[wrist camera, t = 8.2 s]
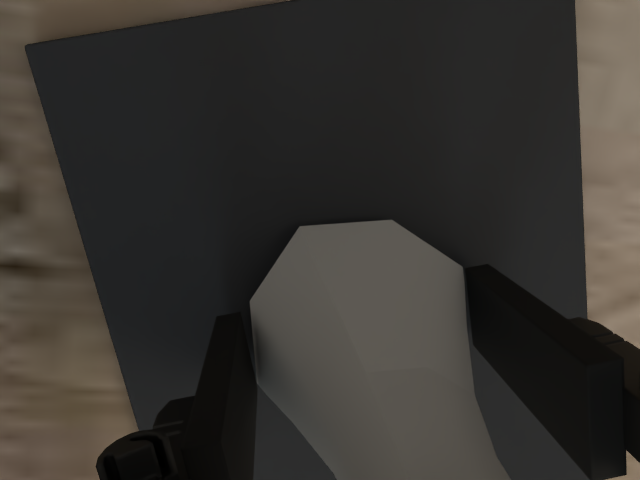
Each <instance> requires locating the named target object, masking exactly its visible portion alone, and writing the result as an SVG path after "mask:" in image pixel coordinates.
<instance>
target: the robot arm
mask: <svg viewBox="0 0 640 480" xmlns="http://www.w3.org/2000/svg"><path fill="white" fill-rule="evenodd" d="M465 273H466V283H467V292H468V302H469V312H470V321H471V331H472V341H473V346H474V347H475V348H476V349H477V350H478V352H479V353H480V354H481V355H482V356H483V357H484V358H485V360H486V361H487V362H488V363H489V364H490V365H491V367H492V368H493V369H494V370H495V371H496V372H497V373H498V375H499V376H500V377H501V378H502V379H503V380H504V382H505V383H506V384H507V385H508V386H509V387H510V388H511V390H512V391H513V392H514V393H515V394H516V395H517V396H518V398H519V399H520V400H521V401H522V402H523V403H524V405H525V406H526V407H527V408H528V409H529V410H530V411H531V413H532V414H533V415H534V416H535V417H536V418H537V420H538V421H539V422H540V423H541V424H542V425H543V426H544V428H545V429H546V430H547V431H548V432H549V433H550V434H551V436H552V437H553V438H554V439H555V440H556V441H557V443H558V444H559V445H560V446H561V447H562V448H563V449H564V451H565V452H566V453H567V454H568V455H569V456H570V458H571V459H572V460H573V461H574V462H575V463H576V464H577V466H578V467H579V468H580V469H581V470H582V471H583V473H584V474H585V475H586V476H587V477H588V478H589V479H590V480H604V479H609V478H614V477H618V476H623V475H626V450H627V451H628V452H629V453H630V454H631V455H632V456H633V457H634V458H635V459H636V460H637V461H638V462H640V349H638V348H637V347H635V346H634V345H632V344H631V343H629V342H628V341H624V339H623V338H621V337H620V336H618V335H617V334H613V332H612V331H610V330H609V329H607V328H606V327H604V326H603V325H601V324H599V323H597V322H594V321H591V320H588V319H584V318H581V317H576V318H571V319H567V318H565V317H564V316H562V315H561V314H560V313H558V312H557V311H555V310H554V309H552V308H551V307H550V306H548V305H547V304H545V303H544V302H542V301H541V300H539V299H538V298H537V297H535V296H534V295H532V294H531V293H529V292H528V291H527V290H525V289H524V288H522V287H521V286H519V285H518V284H516V283H515V282H514V281H512V280H511V279H509V278H508V277H506V276H505V275H503V274H502V273H501V272H499V271H498V270H496V269H495V268H493V267H492V266H491V265H489V264H484V265H479V266H473V267H468V268H465ZM257 393H258V387H257V383H256V379H255V374H254V370H253V365H252V361H251V356H250V352H249V347H248V343H247V338H246V334H245V330H244V325H243V321H242V316H241V312H236V313H231V314H226V315H221V316H216V320H215V324H214V327H213V331H212V335H211V338H210V342H209V346H208V349H207V353H206V357H205V361H204V364H203V368H202V372H201V375H200V379H199V383H198V386H197V390H196V394H195V396H190V397H185V398H180V399H175V400H170V401H169V402H168V403H167V404H166V405H165V406H164V407H163V408H162V409H161V410H160V412H159V413H158V414H157V417H156V419H155V422H154V424H153V429H151V430H141V431H138V432H134V433H131V434H128V435H126V436H124V437H122V438H120V439H118V440H116V441H115V442H114V443H112V444H111V445H110V446H108V447H107V448H106V449H105V450H104V451H103V452H102V454H101V455H100V456H99V457H98V460H97V464H96V469H97V472H98V475H99V478H100V480H253V475H254V454H255V434H256V414H257Z"/></svg>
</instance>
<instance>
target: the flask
mask: <svg viewBox="0 0 640 480" xmlns="http://www.w3.org/2000/svg"><path fill="white" fill-rule="evenodd" d="M250 311H251V322H252V332H253V343H254V354H255V365H256V376H257V384H258V385H259V386H260V387H261V389H262V390H263V391H264V392H265V394H266V395H267V396H268V397H269V398H270V399H271V400H272V401H273V402H274V403H275V404H276V405H277V406H278V408H279V409H280V410H281V411H282V412H283V413H284V414H285V415H286V416H287V417H288V418H289V419H290V420H291V421H292V422H293V424H294V425H295V426H296V427H297V429H298V430H299V431H300V432H301V434H302V435H303V436H304V437H305V438H306V440H307V441H308V442H309V443H310V445H311V446H312V447H313V448H314V450H315V451H316V452H317V453H318V455H319V456H320V457H321V458H322V460H323V461H324V462H325V463H326V465H327V466H328V467H329V468H330V470H331V471H332V472H333V473H334V475H335V477H336V480H511V479H510V477H509V476H508V474H507V472H506V471H505V469H504V468H503V466H502V464H501V463H500V461H499V460H498V458H497V456H496V453H495V450H494V447H493V445H492V442H491V439H490V436H489V433H488V431H487V428H486V425H485V422H484V419H483V417H482V414H481V411H480V408H479V405H478V403H477V400H476V397H475V392H474V383H473V375H472V366H471V358H470V349H469V341H468V332H467V321H466V301H465V282H464V273H463V267H462V266H461V265H459V264H458V263H456V262H455V261H453V260H452V259H450V258H449V257H447V256H446V255H444V254H443V253H441V252H440V251H438V250H437V249H435V248H434V247H432V246H431V245H429V244H427V243H426V242H424V241H423V240H421V239H420V238H418V237H417V236H415V235H414V234H412V233H411V232H409V231H408V230H406V229H405V228H403V227H402V226H400V225H399V224H397V223H396V222H394V221H393V220H381V221H367V222H353V223H338V224H324V225H310V226H299V228H298V229H297V231H296V232H295V234H294V235H293V237H292V238H291V240H290V241H289V243H288V244H287V246H286V247H285V249H284V250H283V252H282V253H281V255H280V256H279V258H278V259H277V261H276V262H275V264H274V265H273V267H272V268H271V270H270V271H269V273H268V274H267V276H266V277H265V279H264V280H263V282H262V283H261V285H260V286H259V288H258V289H257V291H256V292H255V294H254V295H253V297H252V298H251V300H250Z"/></svg>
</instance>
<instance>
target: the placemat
mask: <svg viewBox="0 0 640 480" xmlns="http://www.w3.org/2000/svg"><path fill="white" fill-rule="evenodd" d="M25 50H26V54H27V57H28V60H29V64H30V67H31V70H32V74H33V77H34V80H35V84H36V87H37V90H38V94H39V97H40V101H41V104H42V107H43V111H44V114H45V117H46V121H47V124H48V127H49V131H50V134H51V137H52V141H53V144H54V147H55V151H56V154H57V157H58V161H59V164H60V168H61V171H62V174H63V178H64V181H65V184H66V188H67V191H68V194H69V198H70V201H71V204H72V208H73V211H74V214H75V218H76V221H77V225H78V228H79V231H80V235H81V238H82V241H83V245H84V248H85V251H86V255H87V258H88V261H89V265H90V268H91V271H92V275H93V278H94V282H95V285H96V288H97V292H98V295H99V298H100V302H101V305H102V308H103V312H104V315H105V318H106V322H107V325H108V328H109V332H110V335H111V339H112V342H113V345H114V349H115V352H116V355H117V359H118V362H119V365H120V369H121V372H122V375H123V379H124V382H125V385H126V389H127V392H128V396H129V399H130V402H131V406H132V409H133V412H134V416H135V419H136V422H137V426H138V429H139V431H141V430H151V429H153V424H154V422H155V419H156V417H157V414H158V413H159V412H160V410H161V409H162V408H163V407H164V406H165V405H166V404H167V403H168V402H169V401H170V400H175V399H180V398H185V397H190V396H195V394H196V390H197V386H198V383H199V379H200V375H201V372H202V368H203V364H204V361H205V357H206V353H207V349H208V346H209V342H210V338H211V335H212V331H213V327H214V324H215V320H216V316H221V315H226V314H231V313H236V312H241V316H242V321H243V325H244V330H245V334H246V338H247V343H248V347H249V352H250V356H251V361H252V365H253V370H254V374H255V379H256V383H257V376H256V365H255V354H254V343H253V332H252V322H251V311H250V300H251V298H252V297H253V295H254V294H255V292H256V291H257V289H258V288H259V286H260V285H261V283H262V282H263V280H264V279H265V277H266V276H267V274H268V273H269V271H270V270H271V268H272V267H273V265H274V264H275V262H276V261H277V259H278V258H279V256H280V255H281V253H282V252H283V250H284V249H285V247H286V246H287V244H288V243H289V241H290V240H291V238H292V237H293V235H294V234H295V232H296V231H297V229H298V228H299V226H310V225H324V224H338V223H353V222H367V221H381V220H393V221H394V222H396V223H397V224H399V225H400V226H402V227H403V228H405V229H406V230H408V231H409V232H411V233H412V234H414V235H415V236H417V237H418V238H420V239H421V240H423V241H424V242H426V243H427V244H429V245H431V246H432V247H434V248H435V249H437V250H438V251H440V252H441V253H443V254H444V255H446V256H447V257H449V258H450V259H452V260H453V261H455V262H456V263H458V264H459V265H461V266H462V267H463V273H464V282H465V301H466V321H467V332H468V341H469V349H470V358H471V366H472V375H473V383H474V392H475V397H476V400H477V403H478V405H479V408H480V411H481V414H482V417H483V419H484V422H485V425H486V428H487V431H488V433H489V436H490V439H491V442H492V445H493V447H494V450H495V453H496V456H497V458H498V460H499V461H500V463H501V464H502V466H503V468H504V469H505V471H506V472H507V474H508V476H509V477H510V479H511V480H590V479H589V478H588V477H587V476H586V475H585V474H584V473H583V471H582V470H581V469H580V468H579V467H578V466H577V464H576V463H575V462H574V461H573V460H572V459H571V458H570V456H569V455H568V454H567V453H566V452H565V451H564V449H563V448H562V447H561V446H560V445H559V444H558V443H557V441H556V440H555V439H554V438H553V437H552V436H551V434H550V433H549V432H548V431H547V430H546V429H545V428H544V426H543V425H542V424H541V423H540V422H539V421H538V420H537V418H536V417H535V416H534V415H533V414H532V413H531V411H530V410H529V409H528V408H527V407H526V406H525V405H524V403H523V402H522V401H521V400H520V399H519V398H518V396H517V395H516V394H515V393H514V392H513V391H512V390H511V388H510V387H509V386H508V385H507V384H506V383H505V382H504V380H503V379H502V378H501V377H500V376H499V375H498V373H497V372H496V371H495V370H494V369H493V368H492V367H491V365H490V364H489V363H488V362H487V361H486V360H485V358H484V357H483V356H482V355H481V354H480V353H479V352H478V350H477V349H476V348H475V347H474V346H473V341H472V331H471V321H470V312H469V302H468V292H467V283H466V273H465V268H468V267H473V266H479V265H484V264H489V265H491V266H492V267H493V268H495V269H496V270H498V271H499V272H501V273H502V274H503V275H505V276H506V277H508V278H509V279H511V280H512V281H514V282H515V283H516V284H518V285H519V286H521V287H522V288H524V289H525V290H527V291H528V292H529V293H531V294H532V295H534V296H535V297H537V298H538V299H539V300H541V301H542V302H544V303H545V304H547V305H548V306H550V307H551V308H552V309H554V310H555V311H557V312H558V313H560V314H561V315H562V316H564V317H565V318H567V319H571V318H576V317H581V318H584V319H587V296H586V271H585V245H584V220H583V195H582V169H581V144H580V119H579V93H578V68H577V42H576V17H575V0H292V1H286V2H280V3H274V4H268V5H261V6H255V7H249V8H243V9H237V10H231V11H225V12H219V13H213V14H207V15H201V16H195V17H189V18H183V19H177V20H171V21H165V22H159V23H153V24H147V25H141V26H135V27H129V28H123V29H117V30H111V31H105V32H99V33H93V34H87V35H81V36H75V37H69V38H63V39H57V40H51V41H45V42H39V43H33V44H27V45H26V46H25ZM257 387H258V393H257V414H256V434H255V454H254V475H253V480H336V477H335V475H334V473H333V472H332V471H331V470H330V468H329V467H328V466H327V465H326V463H325V462H324V461H323V460H322V458H321V457H320V456H319V455H318V453H317V452H316V451H315V450H314V448H313V447H312V446H311V445H310V443H309V442H308V441H307V440H306V438H305V437H304V436H303V435H302V434H301V432H300V431H299V430H298V429H297V427H296V426H295V425H294V424H293V422H292V421H291V420H290V419H289V418H288V417H287V416H286V415H285V414H284V413H283V412H282V411H281V410H280V409H279V408H278V406H277V405H276V404H275V403H274V402H273V401H272V400H271V399H270V398H269V397H268V396H267V395H266V394H265V392H264V391H263V390H262V389H261V387H260V386H259V385H258V384H257Z"/></svg>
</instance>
